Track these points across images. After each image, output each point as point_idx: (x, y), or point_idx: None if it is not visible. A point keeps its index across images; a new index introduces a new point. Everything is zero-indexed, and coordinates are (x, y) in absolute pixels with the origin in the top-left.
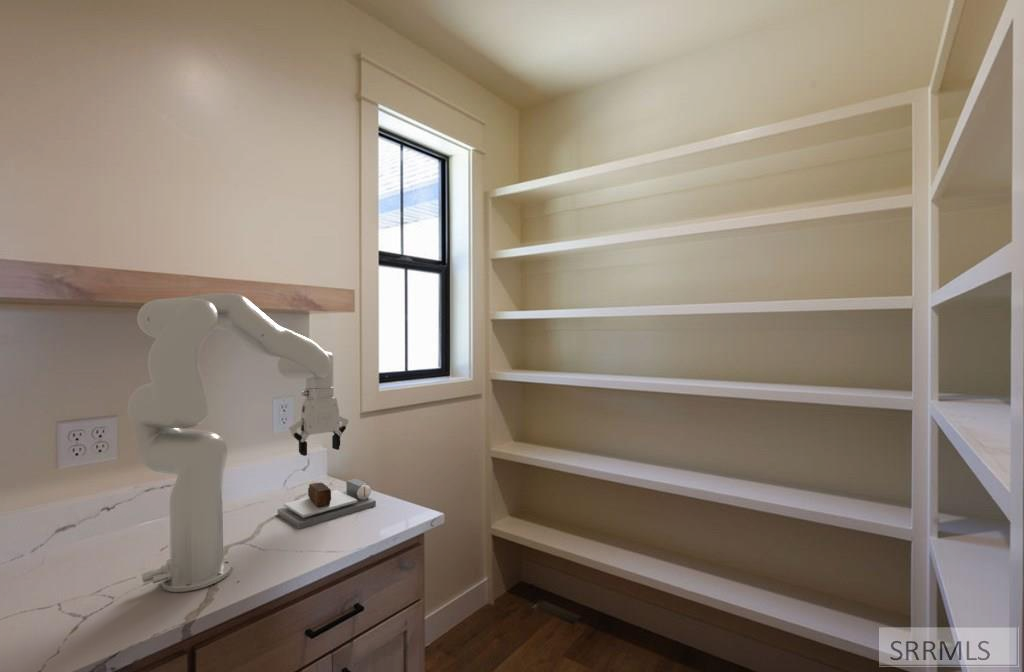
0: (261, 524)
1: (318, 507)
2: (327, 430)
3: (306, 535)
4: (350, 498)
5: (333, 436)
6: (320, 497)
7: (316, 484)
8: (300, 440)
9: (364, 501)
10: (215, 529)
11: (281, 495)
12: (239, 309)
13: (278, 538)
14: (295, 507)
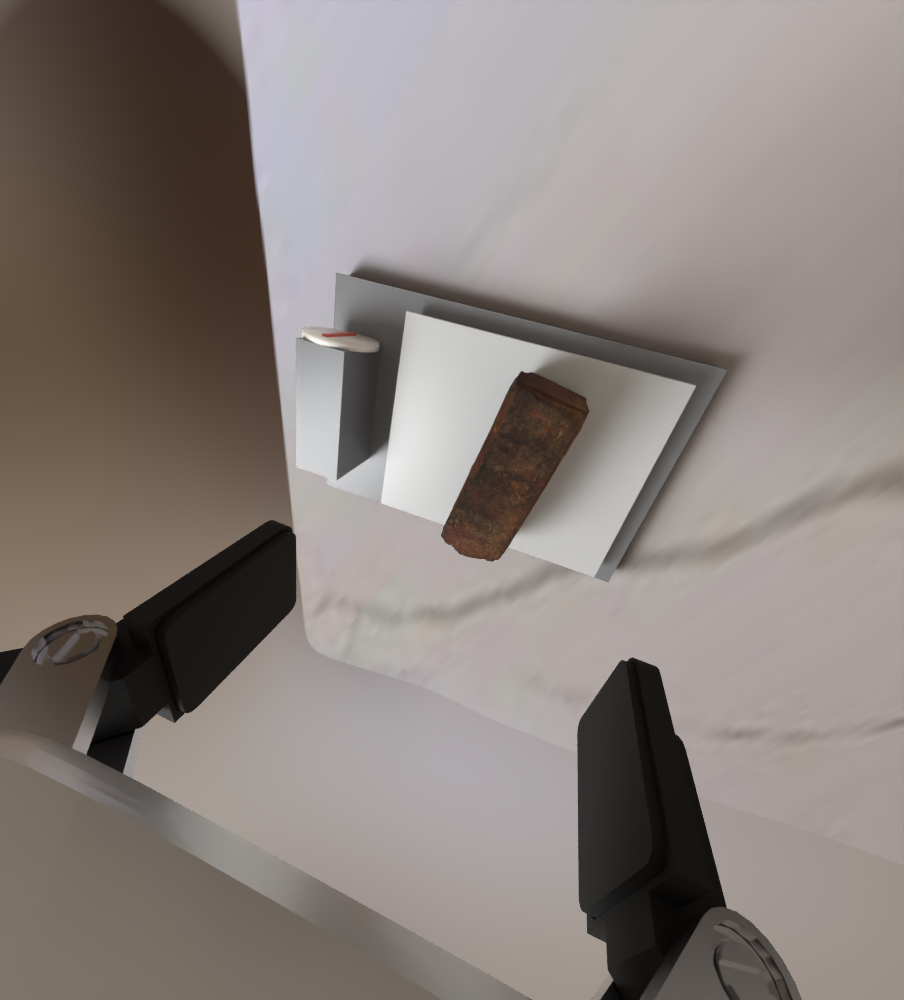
0: (717, 551)
1: None
2: (160, 898)
3: (792, 249)
4: (413, 359)
5: (185, 693)
6: (574, 399)
7: (487, 523)
8: (786, 996)
9: (372, 316)
10: None
11: (468, 666)
12: None
13: (865, 356)
14: (616, 501)
